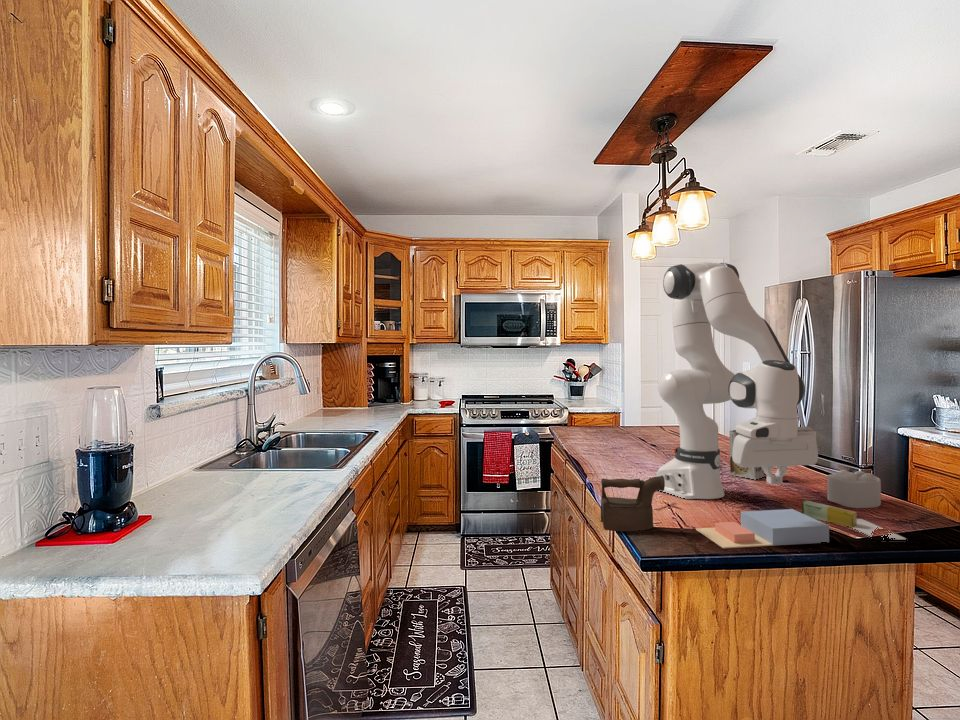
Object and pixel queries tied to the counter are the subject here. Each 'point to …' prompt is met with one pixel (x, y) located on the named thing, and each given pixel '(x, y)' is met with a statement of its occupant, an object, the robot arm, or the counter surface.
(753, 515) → the grey flat block
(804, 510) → the medication box
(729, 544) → the mat
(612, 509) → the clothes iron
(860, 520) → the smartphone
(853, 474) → the lumpy-topped squat cylinder
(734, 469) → the coffee box
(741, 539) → the salmon pink block
